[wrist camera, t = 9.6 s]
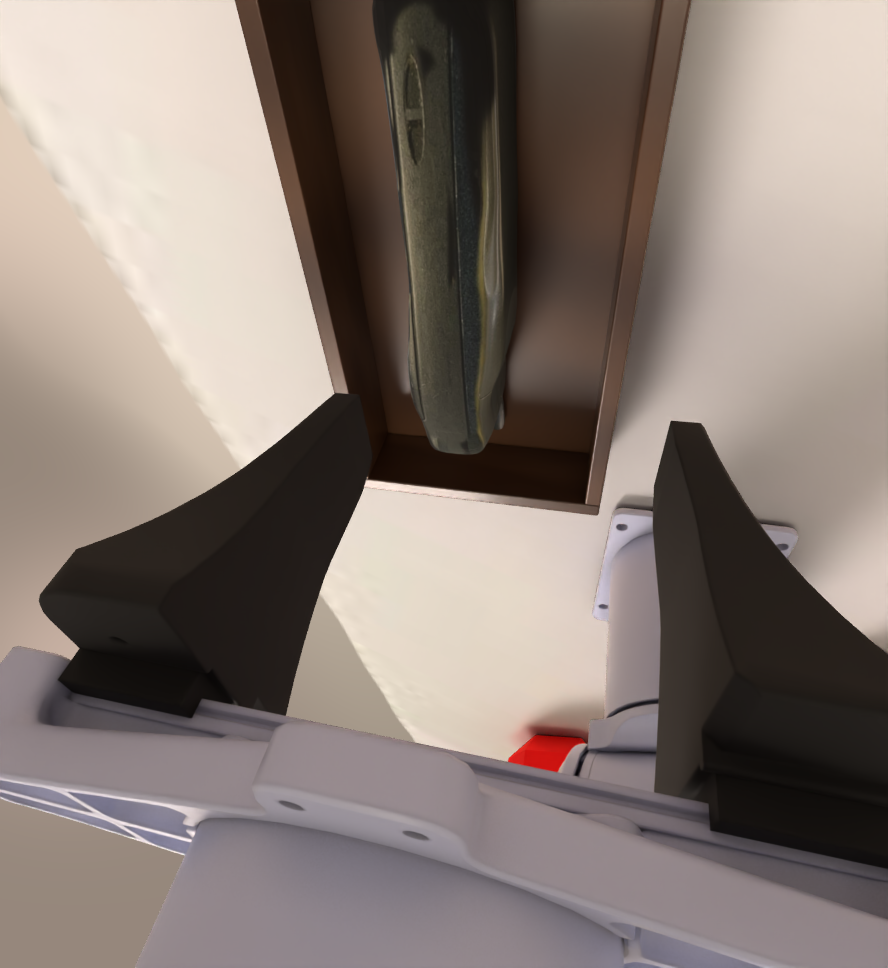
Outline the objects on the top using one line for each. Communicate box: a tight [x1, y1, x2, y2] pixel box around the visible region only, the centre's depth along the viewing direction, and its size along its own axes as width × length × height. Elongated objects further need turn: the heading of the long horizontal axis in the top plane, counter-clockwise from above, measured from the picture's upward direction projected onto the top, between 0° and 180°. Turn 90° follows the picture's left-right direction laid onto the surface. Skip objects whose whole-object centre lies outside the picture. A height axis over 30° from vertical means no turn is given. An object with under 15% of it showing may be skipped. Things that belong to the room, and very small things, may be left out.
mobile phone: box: [372, 0, 518, 454], centre depth 18 cm, size 5×3×15 cm
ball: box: [508, 735, 586, 772], centre depth 48 cm, size 8×8×8 cm
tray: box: [235, 0, 692, 515], centre depth 19 cm, size 19×10×4 cm, turn 4°
